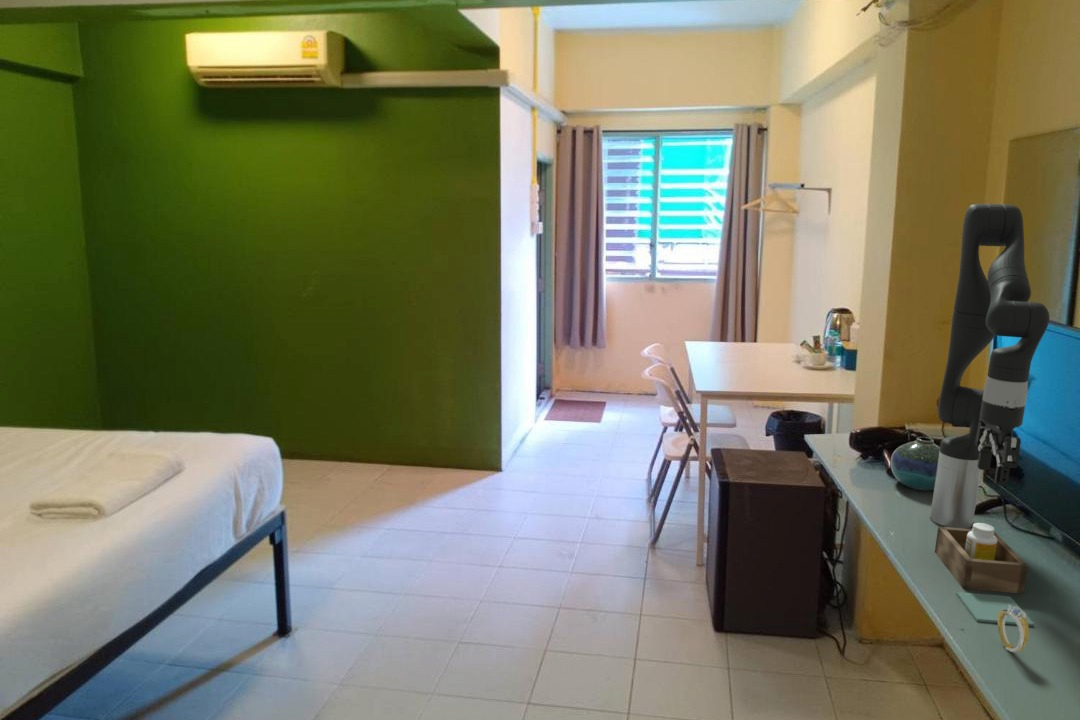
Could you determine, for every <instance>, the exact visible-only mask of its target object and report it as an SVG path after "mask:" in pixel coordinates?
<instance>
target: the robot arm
mask: <svg viewBox="0 0 1080 720" xmlns="http://www.w3.org/2000/svg"><path fill="white" fill-rule="evenodd" d="M1024 232H1025V231H1024V218H1023V214H1022V211H1021V209H1020V208H1019V206H1016V205H1013V204H1004V203H1003V204H1002V203H999V204H997V203H974V204H971V205H969V206H968V208H967V209H966V212H965V214H964V219H963V225H962V233H961V251H960V262H959V263H960V264H959V275H958V282H957V287H956V288H957V289H956V293H955V300H954V305H953V312H952V317H951V318H952V319H951V326H950V337H949V348H948V354H947V361H946V365H945V370H944V376H943V381H942V385H941V390H940V394H939V400H938V408H937V414H938V418H939V420H940V421H941V422H943V423H946V424H951V425H953V426H954V425H955V426H959V427H965V428H969V429H970V430H969V432H968V433H966V434H961V435H953V436H948V437H944V438H943V439H941V440H940V443H939V447H940V451H939V458H938V465H937V472H936V479H935V486H934V490H933V493H932V501H931V508H930V509H931V510H930V515H929V518H930V520H931V521H933V522H934V523H936V524H938V525H939V526H940V525H941V526H942V527H951V528H964V529H971V527H972V528H973V524H974V518H975V511H976V506H977V500H978V499H977V498H978V493H979V487H980V486H979V485H980V480H981V474H982V471H989V470H990V468H991V464H992V457H993V456H995V457H996V458H995V459H996V468H995V475H994V480H993V481H994V483H995V484H996V485H997V486H1006V485H1008V483H1009V477H1010V469H1011V468H1015V469H1016V468H1018V464H1019V456H1020V450H1021V443H1022V441H1021V440H1022V439H1021V438H1020V437H1015V436H1014V433H1013V432H1014V429H1015V428H1020V427H1021V426H1022V425H1023V422H1024V417H1025V409H1026V403H1027V397H1028V391H1029V390H1028V386H1029V383H1028V382H1029V377H1030V371H1031V365H1032V361H1033V358H1034V356H1035V353H1036V351H1037V348H1038V346H1039V344H1040V342H1041V340H1042V338H1043V337H1044V334H1045V333H1046V331H1047V329H1048V326H1049V324H1050V312H1049V309H1048V308H1047V306H1046V305H1045V304H1044V303H1040V302H1037V301H1036V302H1035V301H1029V300H1030V299H1031V295H1032V289H1031V286H1030V285H1031V284H1030V282H1029V278H1028V273H1027V270H1026V264H1025V235H1024V234H1025V233H1024ZM980 246H981V247H1005V248H1004V249H1003V250H1002V252H1001V253H1000V254H999V255H998V256H996V258H995V259H994V260H993V262H991V264H990V266H989V269H988V272H987V275H986V274H985V272H984V269H983V268H982V266H981V260H980V253H979V251H980V250H979V249H980ZM986 276H987V277H986ZM996 336H997V337H1007V338H1008V337H1011V338H1020V340H1018V341H1017V343H1016V344H1014V345H1010V346H1004V347H998V348H995V349H993V350H992V351H991V353H990V357H989V364H988V369H987V376H986V380H985V383H984V386H983V389H978V388H974V387H967V386H962V385H961V381H962V377H963V376H964V373H965V371H966V370H967V368H968V367H969V366H970V364H971V363H973V361H974V360H975V358H977V357H978V356H979V355H980V354H981V352H982V351H983V350H984V349H986V348H987V346H988V345H990V343H991V342H992V341H993V339H994V338H995V337H996ZM992 455H993V456H992Z"/></svg>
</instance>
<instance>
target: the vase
mask: <svg viewBox="0 0 1080 720" xmlns="http://www.w3.org/2000/svg"><path fill="white" fill-rule="evenodd" d="M939 451H940V445H937V444H936V443H935V442H934V439H933V438H930V437H927V436H917V437H916V440H914V441H913V440H912V441H910V442H907V443H904V444H902V445H899V446H898V447H897V448H896V449H895V450H894V451H893V453H892V454H891V457H890V469H891V471H892V474H893V476H894V477H895V479H896V480H897V481H898V482H899V483H900V484H902V485H904V486H906V487H908V488H910V489H914V490H917V491H918V490H919V491H934V486H935V479H936V472H937V465H938V458H939Z"/></svg>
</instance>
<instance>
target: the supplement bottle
mask: <svg viewBox="0 0 1080 720" xmlns="http://www.w3.org/2000/svg"><path fill="white" fill-rule="evenodd" d="M971 529H972V531H970V532H968V534H967V539H966V546H965V552H966V553H967V554H968V555H969V557H970V558H971V559H981V560H993V561H994V559H995V553H996V546H997V538H996V537H995V536H994V532H995V530H996V529H995V527H994V526H992V525H991V524H987V523H984V522H973V525H972V528H971Z"/></svg>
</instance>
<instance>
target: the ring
mask: <svg viewBox="0 0 1080 720" xmlns="http://www.w3.org/2000/svg"><path fill="white" fill-rule="evenodd" d="M1020 608H1021V607H1020ZM1020 608H1019V609H1018V608H1017V607H1013V608H1011V605H1009V609H1006V610H1001V611H999V613H998V623H997V627H998V633H999V636H1000V639H1001V642H1002V644H1003V646H1004V648H1005V651H1009V652H1011V653H1021V651H1023V650H1024V649H1025V647H1026V645H1027V643H1028V640H1029V635H1030V628H1029V627H1030V626H1028V623H1027V620H1026V615H1027V613H1026V612H1025V611H1021V609H1022V608H1021V609H1020ZM1008 615H1009V616H1010V617H1011V618H1012V619H1013V620H1014V621H1015V622H1016V624H1017V625H1016V626H1017V628H1018V629H1017V630H1018V637H1019V638H1018V642H1017V644H1016V646H1015V647H1014V644H1012V643H1010V641H1009V639H1008V637H1007V632H1006V624H1005V621H1006V618H1007V616H1008ZM1021 615H1022V616H1021ZM1019 619H1020V621H1021V622H1020V621H1019Z"/></svg>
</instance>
